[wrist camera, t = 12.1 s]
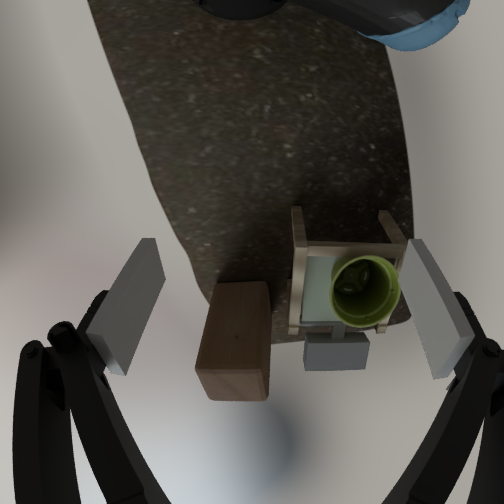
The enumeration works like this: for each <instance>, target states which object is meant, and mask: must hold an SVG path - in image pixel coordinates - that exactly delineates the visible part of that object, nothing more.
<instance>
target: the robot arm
mask: <svg viewBox="0 0 504 504" xmlns="http://www.w3.org/2000/svg"><path fill="white" fill-rule="evenodd" d="M193 1H194V2H195V3H196V4H197V5H198V6H200V7H201V8H202V9H203V10H205V11H206V12H208V13H210V14H212V15H214V16H217V17H220V18H224V19H229V20H251V19H256V18H260V17H263V16H266V15H268V14H271V13H273V12H274V11H276V10H278V9H279V8H281V7H282V6H283V5H284V4H285V3H286V2H287V1H289V2H292V3H295V4H298V5H300V6H303V7H305V8H308V9H310V10H313V11H315V12H318V13H320V14H322V15H325V16H327V17H329V18H332V19H334V20H336V21H338V22H340V23H342V24H345V25H347V26H349V27H351V28H353V29H355V30H356V31H357V32H358V33H359V34H361V35H363V36H365V37H368V38H371V39H375V40H377V41H379V42H381V43H383V44H385V45H387V46H389V47H390V48H393V49H396V50H400V51H416V50H420V49H423V48H426V47H428V46H430V45H431V44H434V43H436V42H437V41H439V40H440V39H442V38H443V37H445V36H446V35H447V34H448V33H449V32H451V31H452V30H453V29H454V27H455V26H456V25H457V24H458V23H459V21H458V17H460V16H461V15H464V14H465V13H466V11H467V9H468V7H469V4H470V0H193ZM165 280H166V279H165V275H164V271H163V267H162V263H161V260H160V256H159V252H158V248H157V244H156V240H155V238H142V239H141V241H140V242H139V244H138V245H137V247H136V248H135V250H134V251H133V253H132V254H131V256H130V258H129V259H128V261H127V262H126V264H125V266H124V267H123V269H122V270H121V272H120V274H119V275H118V277H117V279H116V280H115V282H114V284H113V285H112V287H111V288H110V290H109V291H108V290H103V291H102V292H100V293H99V294H98V295H97V296H96V297H95V299H94V300H93V302H92V303H91V307H89V308H88V310H87V313H86V314H85V315H84V317H83V319H82V320H81V322H80V324H79V326H78V327H77V329H75V328H74V326H73V325H72V323H70V322H68V321H63V322H59V323H57V324H55V325H54V326H53V327H52V328H51V329H50V330H49V333H48V336H47V339H48V341H49V342H50V344H51V345H52V347H44V346H43V345H42V343H41V342H40V341H38V340H33V341H30V342H28V343H27V344H26V345H25V346H24V347H23V348H22V351H21V353H20V359H19V366H18V373H17V381H16V390H15V400H14V414H13V442H12V445H13V447H12V451H13V478H14V491H15V500H16V504H81V499H80V494H79V489H78V483H77V476H76V469H75V462H74V453H73V444H72V433H71V419H70V409H71V412H72V416H73V419H74V422H75V425H76V428H77V431H78V434H79V437H80V440H81V442H82V445H83V448H84V451H85V453H86V456H87V458H88V461H89V463H90V466H91V468H92V471H93V473H94V475H95V478H96V480H97V482H98V484H99V487H100V489H101V491H102V493H103V495H104V497H105V499H106V502H107V504H171V502H170V501H169V500H168V498H167V497H166V495H165V493H164V492H163V490H162V489H161V487H160V485H159V484H158V482H157V480H156V479H155V477H154V475H153V474H152V472H151V470H150V468H149V467H148V465H147V463H146V461H145V459H144V458H143V456H142V454H141V452H140V450H139V448H138V446H137V444H136V442H135V441H134V438H133V437H132V434H131V433H130V430H129V428H128V426H127V424H126V422H125V420H124V418H123V416H122V414H121V411H120V410H119V407H118V405H117V402H116V400H115V398H114V395H113V393H112V391H111V388H110V386H109V383H108V381H107V378H106V376H105V374H104V373H103V372H104V369H105V367H106V366H107V368H108V369H109V371H110V372H111V373H113V374H117V375H123V376H126V374H127V371H128V369H129V366H130V364H131V361H132V359H133V356H134V353H135V351H136V348H137V346H138V343H139V341H140V338H141V336H142V333H143V331H144V329H145V326H146V324H147V321H148V319H149V317H150V314H151V312H152V310H153V307H154V305H155V303H156V300H157V298H158V296H159V293H160V291H161V289H162V287H163V284H164V282H165ZM398 282H399V285H400V287H401V290H402V292H403V294H404V297H405V299H406V302H407V304H408V307H409V310H410V312H411V315H412V317H413V320H414V323H415V325H416V328H417V331H418V334H419V336H420V339H421V342H422V345H423V348H424V351H425V354H426V357H427V360H428V363H429V366H430V369H431V372H432V376H433V379H439V378H445V377H448V376H449V375H450V373H451V372H452V370H453V369H454V371H455V374H456V376H455V378H454V379H453V380H452V382H451V383H450V384H449V386H448V387H447V388H446V390H448V389H449V390H448V392H447V395H446V397H445V399H444V401H443V403H442V405H441V407H440V409H439V411H438V414H437V416H436V418H435V420H434V421H433V423H432V425H431V427H430V429H429V431H428V433H427V435H426V436H425V438H424V440H423V442H422V443H421V445H420V447H419V449H418V450H417V452H416V454H415V455H414V457H413V459H412V460H411V462H410V464H409V465H408V467H407V468H406V470H405V471H404V473H403V474H402V476H401V477H400V479H399V480H398V482H397V483H396V485H395V486H394V487H393V489H392V490H391V492H390V493H389V494H388V496H387V497H386V498H385V500H384V501H383V503H382V504H445V502H446V500H447V499H448V497H449V495H450V493H451V491H452V490H453V488H454V486H455V484H456V482H457V480H458V478H459V476H460V474H461V472H462V470H463V468H464V466H465V464H466V461H467V459H468V457H469V455H470V453H471V450H472V448H473V446H474V443H475V440H476V438H477V436H478V433H479V431H480V428H481V425H482V423H483V420H484V425H483V432H482V439H481V445H480V451H479V456H478V461H477V466H476V471H475V475H474V479H473V483H472V487H471V491H470V494H469V498H468V501H467V504H504V350H501V348H500V346H499V345H498V343H497V342H495V341H494V340H492V339H489V338H487V337H486V335H485V334H484V331H483V329H482V328H481V326H480V323H479V322H478V319H477V317H476V316H475V315H474V312H473V310H472V309H471V306H470V305H469V303H468V301H467V299H466V298H465V297H464V296H463V295H462V294H461V293H460V292H453V291H452V289H451V287H450V286H449V284H448V282H447V280H446V279H445V277H444V275H443V273H442V272H441V270H440V268H439V267H438V265H437V263H436V262H435V260H434V258H433V257H432V255H431V253H430V252H429V250H428V249H427V247H426V245H425V244H424V242H423V241H422V239H409V241H408V245H407V249H406V253H405V257H404V260H403V264H402V267H401V271H400V274H399V278H398Z"/></svg>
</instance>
